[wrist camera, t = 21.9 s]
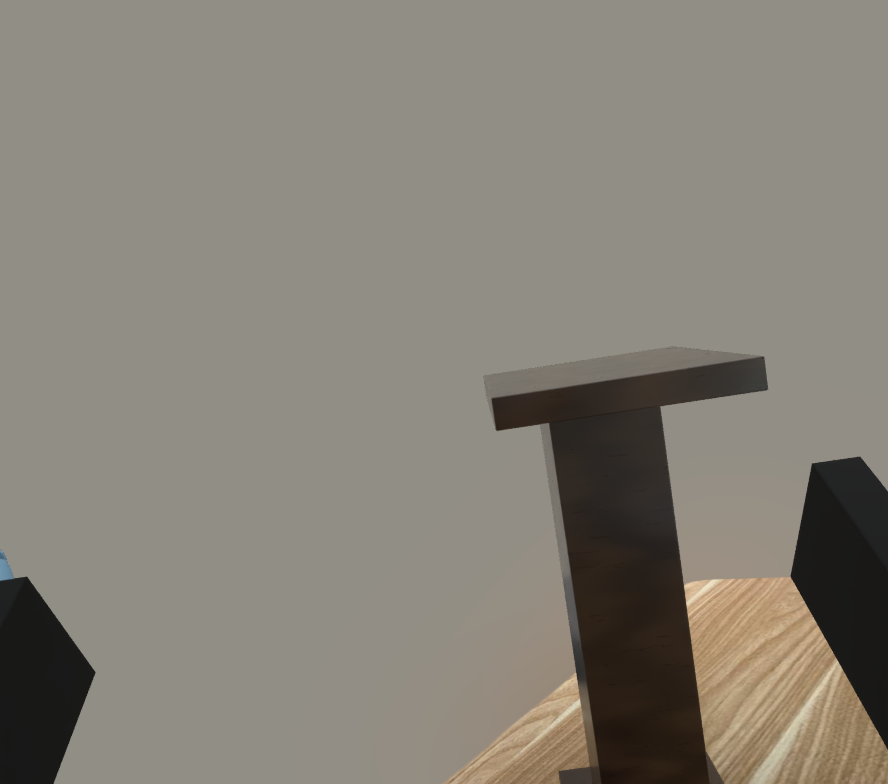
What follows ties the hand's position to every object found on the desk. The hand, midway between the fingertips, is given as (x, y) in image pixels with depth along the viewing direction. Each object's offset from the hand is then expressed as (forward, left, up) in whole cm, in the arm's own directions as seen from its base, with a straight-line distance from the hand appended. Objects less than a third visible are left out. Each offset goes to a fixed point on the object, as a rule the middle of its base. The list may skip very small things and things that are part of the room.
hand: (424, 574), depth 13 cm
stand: (+8, +27, -28) cm, 39 cm away
